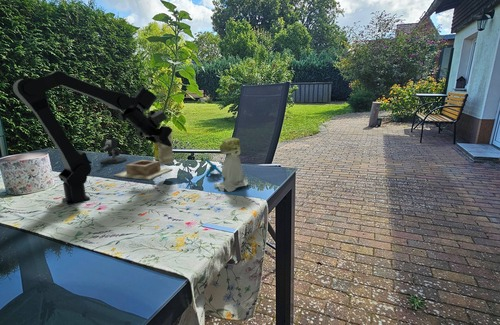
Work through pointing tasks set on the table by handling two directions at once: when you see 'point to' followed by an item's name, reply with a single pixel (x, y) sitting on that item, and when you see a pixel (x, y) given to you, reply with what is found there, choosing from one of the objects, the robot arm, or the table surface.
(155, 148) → the supplement box
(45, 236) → the table surface
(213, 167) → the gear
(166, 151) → the peg
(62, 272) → the table surface
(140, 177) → the socket
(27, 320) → the table surface
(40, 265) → the table surface
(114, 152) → the gun turret
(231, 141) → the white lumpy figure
